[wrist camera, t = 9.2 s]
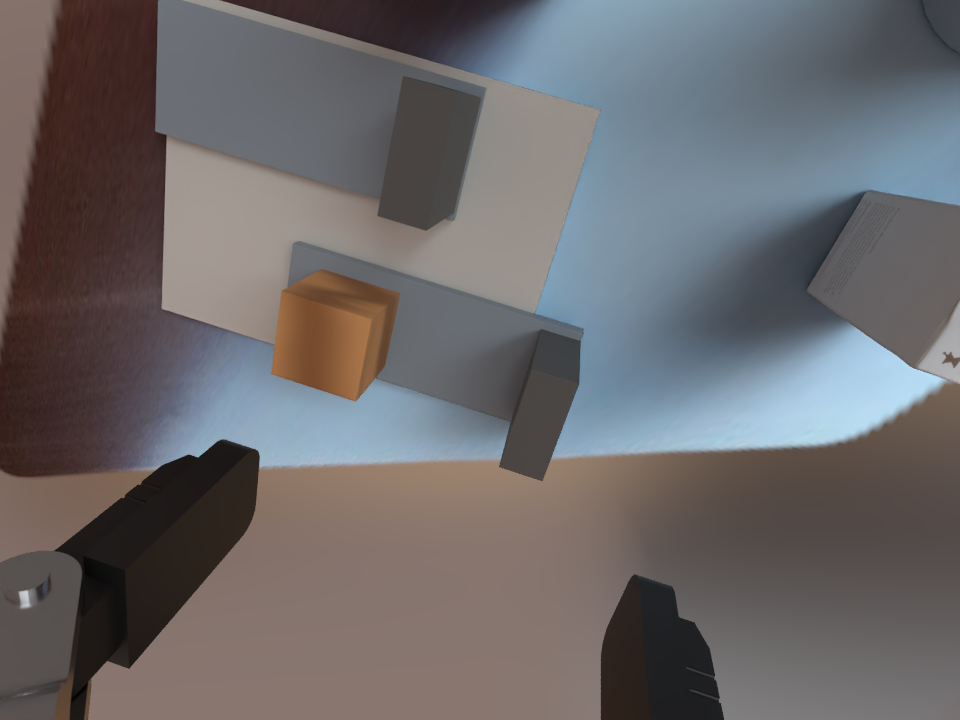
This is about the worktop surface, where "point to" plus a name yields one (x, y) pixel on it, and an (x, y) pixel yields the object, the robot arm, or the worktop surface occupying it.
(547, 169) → the lane board
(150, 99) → the worktop surface
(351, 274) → the strip with cube
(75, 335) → the worktop surface
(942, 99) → the worktop surface
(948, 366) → the skincare box
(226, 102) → the strip empty
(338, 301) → the cube
